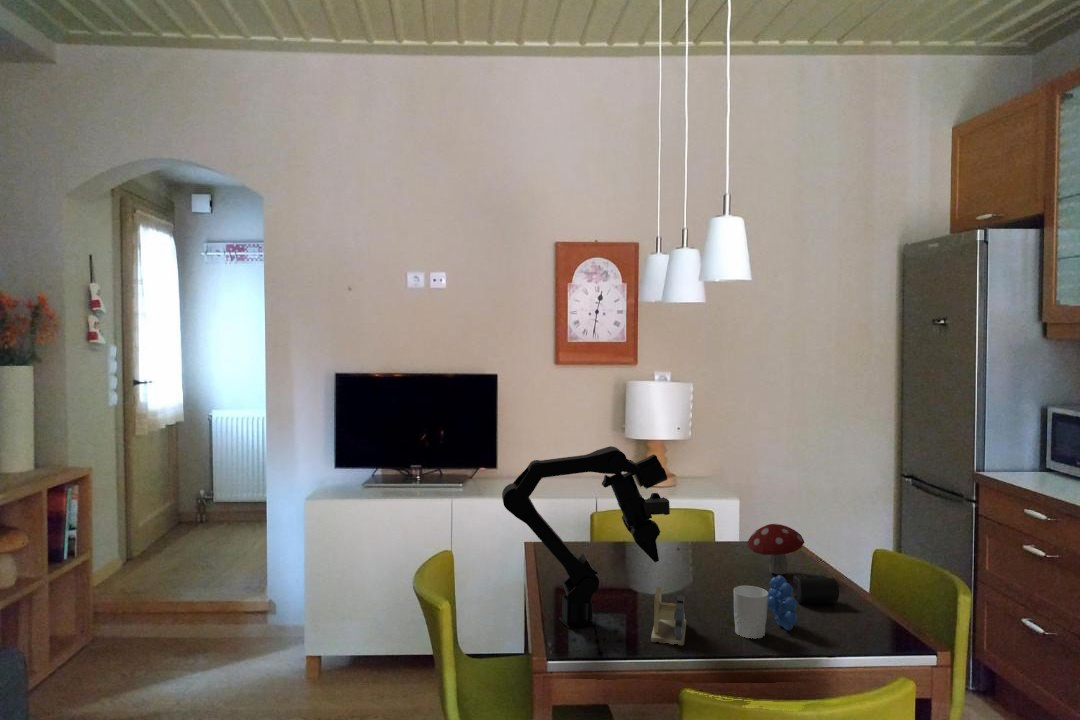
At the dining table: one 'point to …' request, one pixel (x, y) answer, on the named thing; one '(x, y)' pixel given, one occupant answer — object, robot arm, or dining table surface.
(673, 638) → the birch board
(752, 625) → the white cup
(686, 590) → the dining table surface
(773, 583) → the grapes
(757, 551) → the decorative mushroom
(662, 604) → the tan notched block
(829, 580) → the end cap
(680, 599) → the grey two-prong bracket
